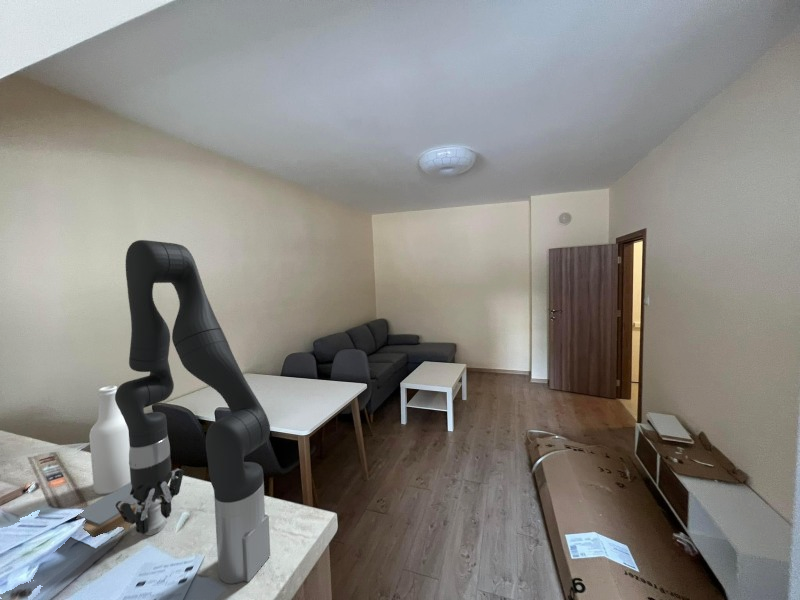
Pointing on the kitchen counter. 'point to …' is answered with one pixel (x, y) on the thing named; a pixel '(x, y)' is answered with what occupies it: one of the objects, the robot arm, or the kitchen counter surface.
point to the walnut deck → (107, 524)
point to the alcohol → (109, 445)
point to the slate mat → (106, 506)
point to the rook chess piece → (155, 517)
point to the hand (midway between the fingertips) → (155, 523)
